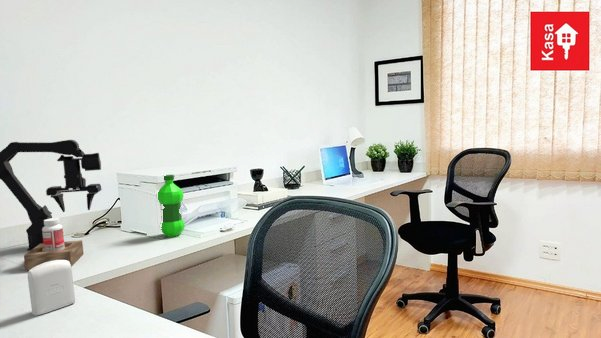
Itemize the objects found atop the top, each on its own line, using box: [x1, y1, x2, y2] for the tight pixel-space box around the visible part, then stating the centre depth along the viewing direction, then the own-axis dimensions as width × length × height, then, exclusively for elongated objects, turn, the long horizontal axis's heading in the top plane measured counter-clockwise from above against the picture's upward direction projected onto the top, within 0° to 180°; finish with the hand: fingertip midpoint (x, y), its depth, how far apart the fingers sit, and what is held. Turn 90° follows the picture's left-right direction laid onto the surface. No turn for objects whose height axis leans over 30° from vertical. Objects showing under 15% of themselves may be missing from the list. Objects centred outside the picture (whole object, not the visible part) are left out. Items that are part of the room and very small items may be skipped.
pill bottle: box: [42, 217, 65, 252], centre depth 153 cm, size 6×6×11 cm
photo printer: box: [27, 260, 76, 316], centre depth 114 cm, size 10×4×12 cm, turn 140°
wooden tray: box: [23, 239, 85, 271], centre depth 153 cm, size 14×14×5 cm
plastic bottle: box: [157, 174, 186, 238], centre depth 182 cm, size 10×10×25 cm
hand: (76, 211), depth 176 cm, fingers open, 9 cm apart
